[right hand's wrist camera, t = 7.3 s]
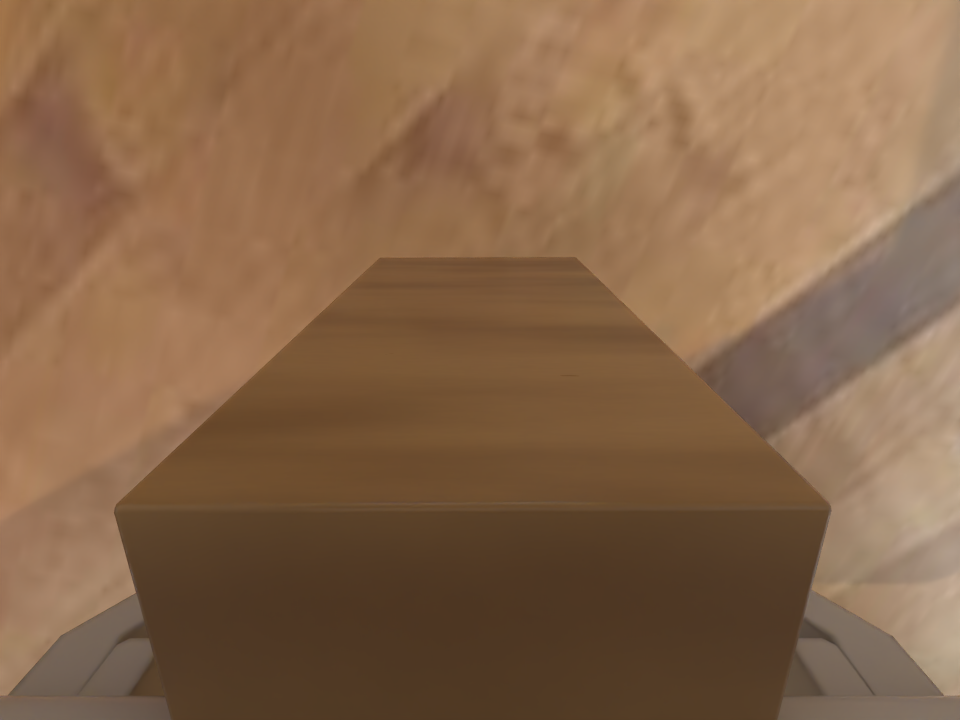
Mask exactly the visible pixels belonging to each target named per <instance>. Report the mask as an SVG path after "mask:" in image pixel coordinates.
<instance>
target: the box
mask: <svg viewBox="0 0 960 720" xmlns="http://www.w3.org/2000/svg"><path fill="white" fill-rule="evenodd" d="M114 514H115V517H116V521H117V525H118V528H119V532H120V536H121V539H122V543H123V546H124V550H125V554H126V557H127V561H128V565H129V568H130V572H131V575H132V579H133V583H134V586H135V590H136V594H137V597H138V601H139V604H140V608H141V612H142V615H143V619H144V623H145V626H146V630H147V633H148V637H149V641H150V644H151V648H152V652H153V655H154V659H155V663H156V666H157V670H158V673H159V677H160V681H161V684H162V688H163V692H164V695H165V699H166V702H167V706H168V710H169V713H170V717H171V720H777V719H778V716H779V712H780V708H781V704H782V700H783V696H784V692H785V688H786V685H787V681H788V677H789V673H790V669H791V665H792V661H793V657H794V654H795V650H796V646H797V642H798V638H799V634H800V630H801V627H802V623H803V619H804V615H805V611H806V607H807V603H808V599H809V596H810V592H811V588H812V584H813V580H814V576H815V572H816V568H817V565H818V561H819V557H820V553H821V549H822V545H823V541H824V538H825V534H826V530H827V526H828V522H829V518H830V514H831V506H830V504H829V502H828V501H827V500H826V499H825V498H824V497H823V496H822V495H821V494H820V493H819V492H818V491H817V490H816V489H815V488H814V487H813V486H812V485H811V484H809V483H808V482H807V481H806V480H805V479H804V478H803V477H802V476H801V475H800V474H799V473H798V472H797V471H796V470H795V469H794V468H793V467H792V466H791V465H790V464H789V463H788V462H787V461H786V460H785V459H784V458H783V457H782V456H781V455H780V454H778V453H777V452H776V451H775V450H774V449H773V448H772V447H771V446H770V445H769V444H768V443H767V442H766V441H765V440H764V439H763V438H762V437H761V436H760V435H759V434H758V433H757V432H756V431H755V430H754V429H753V428H752V427H751V426H750V425H749V424H747V423H746V422H745V421H744V420H743V419H742V418H741V417H740V416H739V415H738V414H737V413H736V412H735V411H734V410H733V409H732V408H731V407H730V406H729V405H728V404H727V403H726V402H725V401H724V400H723V399H722V398H721V397H720V396H719V395H718V394H716V393H715V392H714V391H713V390H712V389H711V388H710V387H709V386H708V385H707V384H706V383H705V382H704V381H703V380H702V379H701V378H700V377H699V376H698V375H697V374H696V373H695V372H694V371H693V370H692V369H691V368H690V367H689V366H688V365H687V364H685V363H684V362H683V361H682V360H681V359H680V358H679V357H678V356H677V355H676V354H675V353H674V352H673V351H672V350H671V349H670V348H669V347H668V346H667V345H666V344H665V343H664V342H663V341H662V340H661V339H660V338H659V337H658V336H657V335H656V334H654V333H653V332H652V331H651V330H650V329H649V328H648V327H647V326H646V325H645V324H644V323H643V322H642V321H641V320H640V319H639V318H638V317H637V316H636V315H635V314H634V313H633V312H632V311H631V310H630V309H629V308H628V307H627V306H626V305H625V304H624V303H622V302H621V301H620V300H619V299H618V298H617V297H616V296H615V295H614V294H613V293H612V292H611V291H610V290H609V289H608V288H607V287H606V286H605V285H604V284H603V283H602V282H601V281H600V280H599V279H598V278H597V277H596V276H595V275H594V274H593V273H591V272H590V271H589V270H588V269H587V268H586V267H585V266H584V265H583V264H582V263H581V262H580V261H579V260H578V259H577V258H575V257H512V258H379V259H378V260H377V261H376V262H375V263H374V264H373V265H372V266H371V267H370V268H369V269H367V270H366V271H365V272H364V273H363V274H362V275H361V276H360V277H359V278H358V279H357V280H356V281H355V282H354V283H352V284H351V285H350V286H349V287H348V288H347V289H346V290H345V291H344V292H343V293H342V294H341V295H340V296H339V297H338V298H336V299H335V300H334V301H333V302H332V303H331V304H330V305H329V306H328V307H327V308H326V309H325V310H324V311H323V312H321V313H320V314H319V315H318V316H317V317H316V318H315V319H314V320H313V321H312V322H311V323H310V324H309V325H308V326H307V327H305V328H304V329H303V330H302V331H301V332H300V333H299V334H298V335H297V336H296V337H295V338H294V339H293V340H292V341H290V342H289V343H288V344H287V345H286V346H285V347H284V348H283V349H282V350H281V351H280V352H279V353H278V354H277V355H276V356H274V357H273V358H272V359H271V360H270V361H269V362H268V363H267V364H266V365H265V366H264V367H263V368H262V369H261V370H259V371H258V372H257V373H256V374H255V375H254V376H253V377H252V378H251V379H250V380H249V381H248V382H247V383H246V384H245V385H243V386H242V387H241V388H240V389H239V390H238V391H237V392H236V393H235V394H234V395H233V396H232V397H231V398H230V399H228V400H227V401H226V402H225V403H224V404H223V405H222V406H221V407H220V408H219V409H218V410H217V411H216V412H215V413H214V414H212V415H211V416H210V417H209V418H208V419H207V420H206V421H205V422H204V423H203V424H202V425H201V426H200V427H199V428H197V429H196V430H195V431H194V432H193V433H192V434H191V435H190V436H189V437H188V438H187V439H186V440H185V441H184V442H183V443H181V444H180V445H179V446H178V447H177V448H176V449H175V450H174V451H173V452H172V453H171V454H170V455H169V456H168V457H166V458H165V459H164V460H163V461H162V462H161V463H160V464H159V465H158V466H157V467H156V468H155V469H154V470H153V471H152V472H150V473H149V474H148V475H147V476H146V477H145V478H144V479H143V480H142V481H141V482H140V483H139V484H138V485H137V486H135V487H134V488H133V489H132V490H131V491H130V492H129V493H128V494H127V495H126V496H125V497H124V498H123V499H122V500H121V501H119V502H118V503H117V504H116V507H115V511H114Z"/></svg>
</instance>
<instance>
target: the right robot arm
mask: <svg viewBox="0 0 960 720" xmlns="http://www.w3.org/2000/svg"><path fill="white" fill-rule="evenodd" d="M0 720H171V717H170V713H169V710H168V706H167V702H166V699H165V695H164V692H163V688H162V684H161V681H160V677H159V673H158V670H157V666H156V663H155V659H154V655H153V652H152V648H151V644H150V641H149V637H148V633H147V630H146V626H145V623H144V619H143V615H142V612H141V608H140V604H139V601H138V597H137V594H136V593H135V594H134V595H132V596H130V597H128V598H127V599H125V600H123V601H121V602H120V603H118V604H116V605H114V606H113V607H111V608H109V609H107V610H106V611H104V612H102V613H100V614H98V615H97V616H95V617H93V618H91V619H90V620H88V621H86V622H84V623H83V624H81V625H79V626H77V627H76V628H74V629H72V630H70V631H69V632H67V633H65V634H63V635H61V636H60V637H59V639H58V640H57V641H56V642H55V643H54V644H53V645H52V646H51V648H50V649H49V650H48V651H47V652H46V653H45V654H44V655H43V657H42V658H41V659H40V660H39V661H38V662H37V663H36V664H35V666H34V667H33V668H32V669H31V670H30V671H29V672H28V673H27V674H26V676H25V677H24V678H23V679H22V680H21V681H20V682H19V683H18V685H17V686H16V687H15V688H14V689H13V690H12V691H11V692H10V694H9V695H8V696H0ZM777 720H960V696H944V695H943V694H942V693H941V691H940V690H939V689H938V688H937V687H936V686H935V685H934V683H933V682H932V681H931V680H930V679H929V678H928V677H927V675H926V674H925V673H924V672H923V671H922V670H921V668H920V667H919V666H918V665H917V664H916V663H915V662H914V660H913V659H912V658H911V657H910V656H909V655H908V654H907V652H906V651H905V650H904V649H903V648H902V647H901V645H900V644H899V643H898V642H897V641H896V640H895V639H894V637H893V636H891V635H889V634H887V633H886V632H884V631H882V630H880V629H879V628H877V627H875V626H873V625H872V624H870V623H868V622H866V621H865V620H863V619H861V618H860V617H858V616H856V615H854V614H853V613H851V612H849V611H847V610H846V609H844V608H842V607H840V606H839V605H837V604H835V603H833V602H832V601H830V600H828V599H826V598H825V597H823V596H821V595H820V594H818V593H816V592H814V591H813V590H811V592H810V596H809V599H808V603H807V607H806V611H805V615H804V619H803V623H802V627H801V630H800V634H799V638H798V642H797V646H796V650H795V654H794V657H793V661H792V665H791V669H790V673H789V677H788V681H787V685H786V688H785V692H784V696H783V700H782V704H781V708H780V712H779V716H778V719H777Z"/></svg>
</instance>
